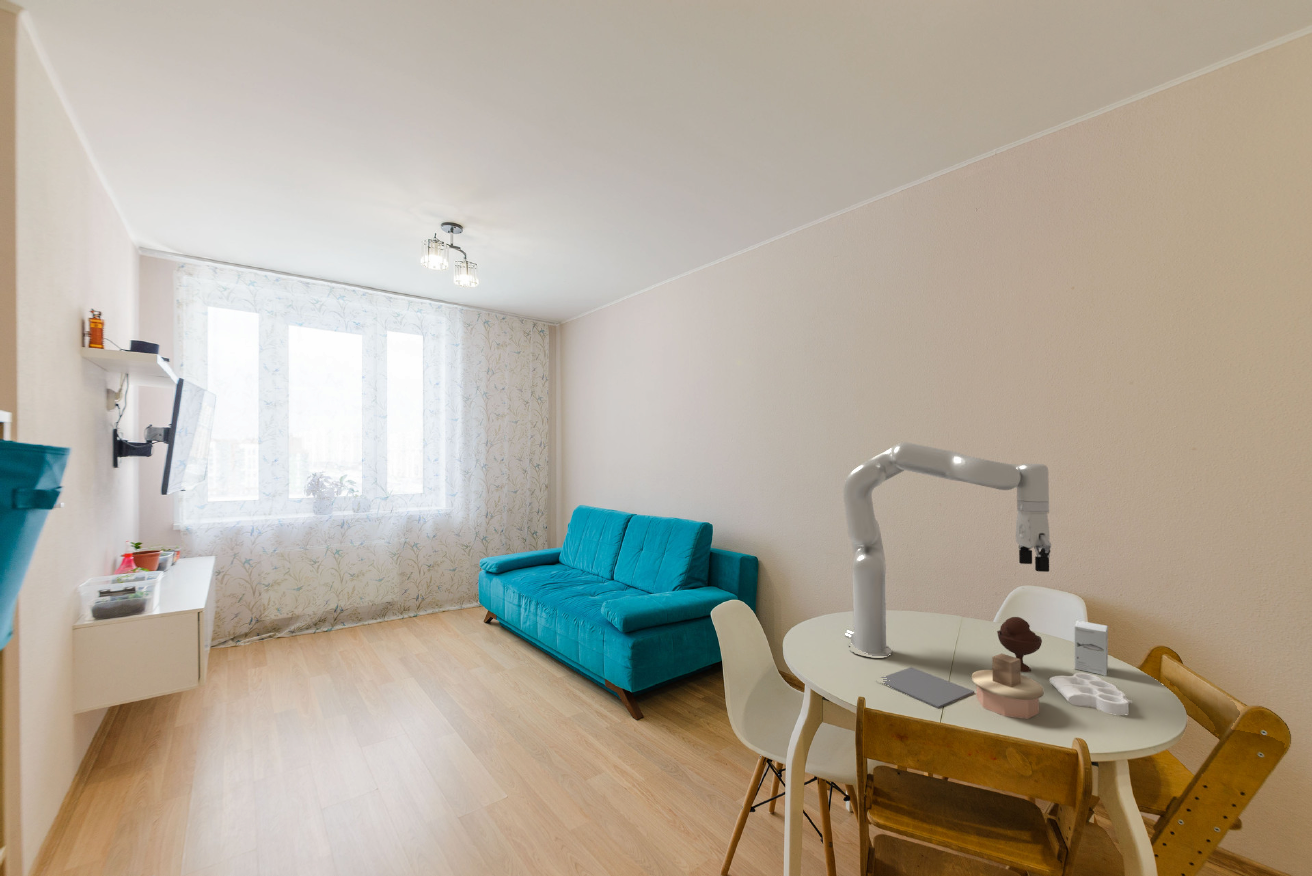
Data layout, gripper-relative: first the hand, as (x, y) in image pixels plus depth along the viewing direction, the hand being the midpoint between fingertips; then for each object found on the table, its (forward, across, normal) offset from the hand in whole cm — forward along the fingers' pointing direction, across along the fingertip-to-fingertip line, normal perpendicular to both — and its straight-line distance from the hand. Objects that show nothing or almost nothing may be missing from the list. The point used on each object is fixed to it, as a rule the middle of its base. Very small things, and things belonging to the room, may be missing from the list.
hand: (1033, 567), depth 154 cm
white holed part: (+31, +14, +7) cm, 34 cm away
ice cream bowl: (+30, -3, -3) cm, 31 cm away
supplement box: (+30, -7, +17) cm, 35 cm away
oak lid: (+25, +22, -16) cm, 37 cm away
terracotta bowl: (+30, +22, -16) cm, 41 cm away
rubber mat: (+30, +15, -33) cm, 47 cm away
